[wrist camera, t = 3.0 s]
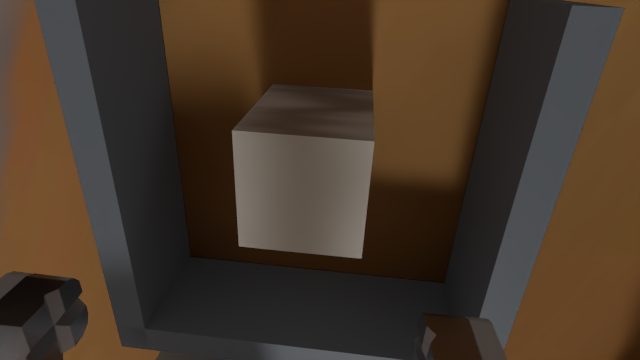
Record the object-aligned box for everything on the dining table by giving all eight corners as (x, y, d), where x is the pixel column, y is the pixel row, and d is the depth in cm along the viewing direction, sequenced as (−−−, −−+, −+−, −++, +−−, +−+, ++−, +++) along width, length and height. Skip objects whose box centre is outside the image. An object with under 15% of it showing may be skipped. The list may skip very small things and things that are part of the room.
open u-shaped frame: (546, -2, 17) (624, 7, 12) (464, 304, 25) (489, 391, 20) (124, -23, 19) (28, -23, 14) (171, 272, 27) (121, 346, 22)
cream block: (372, 90, 20) (374, 141, 14) (363, 180, 22) (361, 258, 16) (273, 83, 20) (231, 130, 14) (274, 172, 23) (238, 246, 17)
